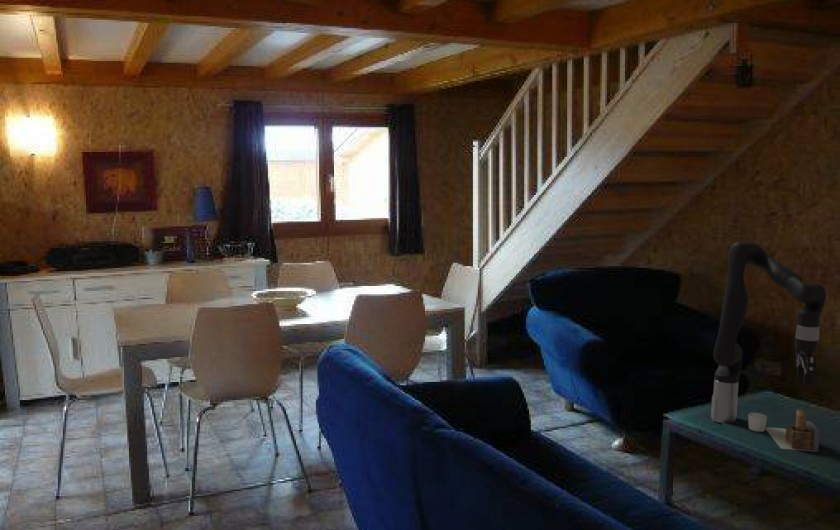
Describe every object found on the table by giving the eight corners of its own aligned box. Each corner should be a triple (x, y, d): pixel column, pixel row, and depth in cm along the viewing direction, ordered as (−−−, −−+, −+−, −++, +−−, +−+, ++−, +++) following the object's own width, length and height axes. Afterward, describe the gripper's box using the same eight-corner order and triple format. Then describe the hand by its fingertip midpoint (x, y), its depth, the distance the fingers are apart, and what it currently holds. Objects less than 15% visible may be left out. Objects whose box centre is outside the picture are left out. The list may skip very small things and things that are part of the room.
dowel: (796, 443, 256) (798, 412, 254) (792, 440, 259) (795, 409, 257) (805, 443, 255) (807, 412, 254) (802, 440, 258) (804, 409, 257)
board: (780, 451, 254) (780, 448, 254) (763, 429, 276) (764, 427, 276) (817, 454, 251) (818, 451, 251) (797, 432, 274) (798, 429, 273)
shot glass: (765, 436, 269) (766, 419, 269) (745, 432, 273) (747, 415, 272) (766, 431, 275) (768, 414, 274) (748, 427, 279) (749, 411, 278)
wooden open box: (791, 447, 254) (792, 432, 253) (785, 439, 262) (786, 424, 261) (812, 449, 252) (813, 433, 252) (805, 441, 260) (806, 426, 259)
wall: (813, 451, 252) (815, 430, 251) (804, 441, 261) (806, 420, 260) (818, 451, 251) (819, 430, 250) (809, 441, 261) (810, 421, 260)
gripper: (825, 342, 244) (821, 386, 246) (811, 334, 258) (808, 376, 260) (802, 341, 246) (798, 385, 248) (790, 333, 260) (786, 374, 262)
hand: (803, 380), depth 254 cm, fingers open, 8 cm apart
